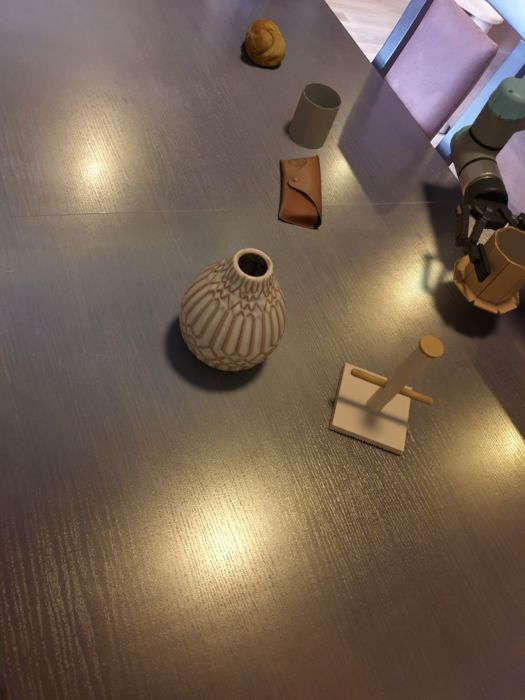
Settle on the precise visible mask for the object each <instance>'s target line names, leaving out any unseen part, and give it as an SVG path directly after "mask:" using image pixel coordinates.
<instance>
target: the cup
mask: <svg viewBox="0 0 525 700" xmlns="http://www.w3.org/2000/svg"><path fill="white" fill-rule="evenodd" d="M342 103H343V100H342V96H341V95H340V94H339V92H338V91H337V90H336V89H334V88H333V87H332V86H330V85H327V84H325V83H323V82H310V83H307V84H305V85H304V87H303V89H302V91H301V94H300V96H299V99H298V103H297V105H296V107H295V111H294V114H293V117H292V119H291V122H290V125H289V127H288V132H289V133H288V134H289V137H290V138H291V139H292V141H293V142H294V143H296V144H297V145H299V146H300V147H303V148H306V149H308V150H309V149H311V150H316V149H317V150H318V149H320V148H322V147H324V145H325V143H326V141H327V140H328V136H329V135H330V131H331V129H332V128H333V125H334V122H335V120H336V117H337V115H338V113H339V110H340V108H341V106H342Z"/></svg>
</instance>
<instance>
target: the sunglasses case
mask: <svg viewBox="0 0 525 700" xmlns="http://www.w3.org/2000/svg"><path fill="white" fill-rule="evenodd" d="M320 161H321V160H320V156H319V155H318V154H315V155H314V156H306V157H299V158H290V159H286V160H285V159H283V158H281V159H280V160H279V163H280V169H281V195H280V196H281V197H280V206H279V213H278V218H279V219H280V220H281V221H283V222H285V223H289V224H292V225H294V226H298V227H302V228H306V229H310V230H315V229H318V228H319V227H321V225H322V223H323V196H322V192H323V191H322V171H321V163H320Z"/></svg>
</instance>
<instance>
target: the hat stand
mask: <svg viewBox="0 0 525 700" xmlns="http://www.w3.org/2000/svg"><path fill="white" fill-rule="evenodd" d="M444 350H445V347H444V345H443V342H442V341H441V340H440V339H439V338H438V337H436V336H434V335H431V334H426V335H423V336H422V337H421V338H420V339H419V341H418V346H417V347H416V348H415V349H414V350H413V351H412V352H411V353H410V354H409V355H408V356H407V358H405V359H404V360H403V362H402V363H401V364H400V365H399V366H398V367H396V369H395V370H394V371H393V372H392V373H391V374H390V375H389V377H384V376H382V375H380V374H377V373H375V372H372V371H369V370H367V369H364V368H362V367H359V366H356V365H353V364H351V363H348V362H345V363H344V364H343V365H342V367H341V371H340V376H339V381H338V385H337V390H336V394H335V398H334V403H333V408H332V411H331V412H332V413H331V416H330V421H329V426H328V429H329V430H333V431H334V430H335V432H336V433H337V432H338V433H340V434H342V433H343V435H345V434H346V435H345V436H348V435H349V436H348V437H350V436H352V437H351V438H353V437H354V438H353V439H356V440H358V439H359V441H361V440H362V442H364V441H365V442H364V443H366V442H367V443H366V444H369V443H370V444H369V445H372V444H373V445H372V446H374V445H375V447H377V446H378V448H380V449H382V448H383V449H382V450H385V451H388V452H390V451H391V452H390V453H393V454H396V455H399V456H400V455H401V454H403V453H404V452H405V444H406V438H407V437H406V436H407V430H408V422H409V414H410V406H411V399H412V400H414V401H416V402H419V403H421V404H424V405H427V406H431V405H433V403H434V399H433V398H432V397H431V396H428V395H426V394H423V393H421V392H417V391H415V390H413V387H411V386H408V384H409V383H411V381H412V380H413V379H415V378H416V377H417V376H418V375H419V374H420V373H421V371H423V370H424V369H425V368H426V366H428V364H430V363H431V362H432V361H433V360H436V359H439V358H441V356H442V355H443V354H444Z"/></svg>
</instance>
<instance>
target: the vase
mask: <svg viewBox="0 0 525 700" xmlns="http://www.w3.org/2000/svg"><path fill="white" fill-rule="evenodd" d="M178 313H179V316H178V318H179V320H178V321H179V322H178V323H179V329H180V334H181V336H182V338H183V340H184V343H185V345H186V346H187V348H188V349H189V351H190V352H191V353H192V354H193V356H195V357H196V358H197V359H198V361H200V362H201V363H203V364H204V365H206V366H209V367H210V368H213V369H216V370H219V371H224V372H225V371H226V372H239V371H244V370H247V369H251V368H253V367H255V366H257V365H259V364H261V363H263V362H264V361H265V360H266V359H268V358H269V357H270V356H271V355H272V354H273V352H274V351H275V350H276V349H277V348H278V346H279V344H280V342H281V341H282V338H283V336H284V333H285V330H286V325H287V303H286V297H285V294H284V291H283V289H282V286H281V284H280V282H279V280H278V279H277V277H276V276H275V274H274V264H273V261H272V260H271V258H270V257H269V255H268V254H266V253H265V252H263V251H262V250H260V249H257V248H253V247H245V248H242V249H240V250H238V251H237V252H236V253H235V254H233V256H232V257H227V258H224V259H221V260H218V261H216V262H214V263H212V264H210V265H208V266H207V267H205V268H204V269H203V270H202V271H200V272H199V274H197V275H196V276H195V278H194V279H193V280H191V282H190V283H189V285H188V287H187V288H186V289H185V291H184V293H183V296H182V298H181V301H180V306H179V312H178Z"/></svg>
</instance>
